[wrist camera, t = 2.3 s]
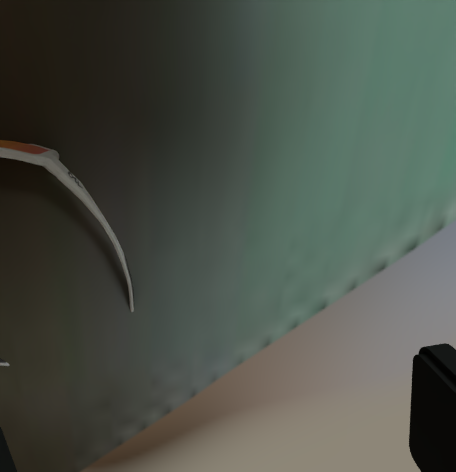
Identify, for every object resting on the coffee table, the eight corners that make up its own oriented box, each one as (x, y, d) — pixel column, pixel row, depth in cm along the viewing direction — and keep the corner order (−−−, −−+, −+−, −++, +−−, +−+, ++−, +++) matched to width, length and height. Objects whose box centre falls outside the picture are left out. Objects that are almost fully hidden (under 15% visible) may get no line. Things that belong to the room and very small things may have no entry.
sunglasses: (45, 89, 23) (20, 101, 19) (160, 282, 30) (161, 323, 26) (-169, 187, 24) (-243, 221, 19) (-8, 355, 31) (-34, 408, 26)
